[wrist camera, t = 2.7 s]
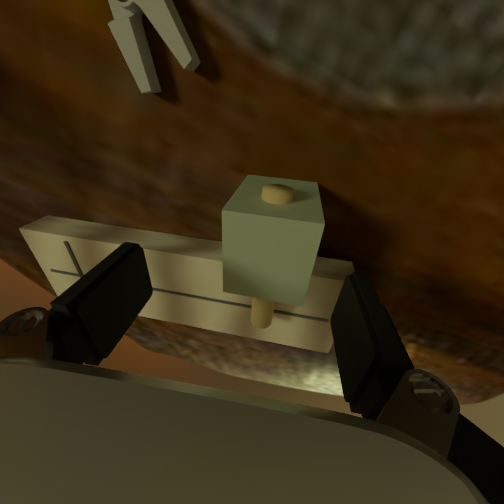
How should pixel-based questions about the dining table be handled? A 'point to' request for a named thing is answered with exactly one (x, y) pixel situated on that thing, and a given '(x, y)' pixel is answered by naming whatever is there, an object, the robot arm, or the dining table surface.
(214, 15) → the dining table surface
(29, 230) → the board
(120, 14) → the pliers
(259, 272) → the green peg block
